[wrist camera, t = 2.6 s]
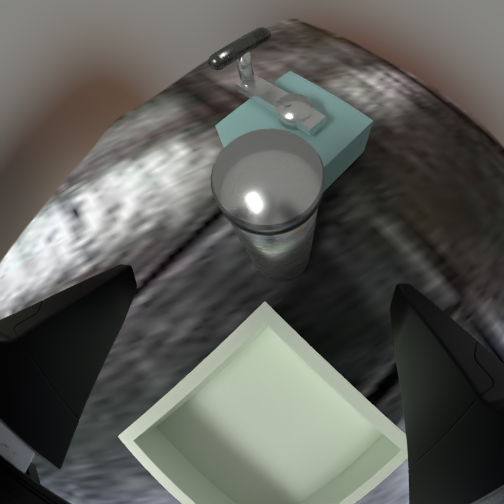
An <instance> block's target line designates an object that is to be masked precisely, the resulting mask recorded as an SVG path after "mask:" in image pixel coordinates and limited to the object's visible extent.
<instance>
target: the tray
mask: <svg viewBox="0 0 504 504" xmlns="http://www.w3.org/2000/svg"><path fill="white" fill-rule="evenodd" d="M118 437H119V438H120V440H121V441H122V442H123V443H124V444H125V446H126V447H127V448H128V449H129V450H130V451H131V453H132V454H133V455H134V456H135V457H136V458H137V459H138V460H139V462H140V463H141V464H142V465H143V466H144V467H145V468H146V469H147V470H148V471H149V472H150V473H151V474H152V475H153V476H154V477H155V478H156V480H157V481H158V482H159V483H160V484H162V485H163V486H164V487H165V488H166V489H167V490H168V491H169V492H170V493H171V494H172V495H173V496H174V497H175V498H176V499H177V500H178V501H180V502H181V503H182V504H355V503H356V502H357V501H359V500H360V499H361V498H362V497H364V496H365V495H366V494H368V493H369V492H370V491H371V490H372V489H374V488H375V487H376V486H377V485H378V484H380V483H381V482H382V481H383V480H384V479H385V478H386V477H388V476H389V475H390V474H391V473H392V472H393V471H394V470H395V469H396V468H397V467H398V466H400V465H401V464H402V463H403V462H404V461H405V460H406V459H407V458H408V452H407V440H406V434H405V433H403V432H402V431H401V430H400V429H399V428H398V427H397V426H396V425H395V424H393V423H392V422H391V421H390V420H389V419H388V418H387V417H386V416H385V415H384V414H382V413H381V412H380V411H379V410H378V409H377V408H376V407H375V406H374V405H373V404H372V403H371V402H369V401H368V400H367V399H366V398H365V397H364V396H363V395H362V394H361V393H360V392H359V391H358V390H357V389H355V388H354V387H353V386H352V385H351V384H350V383H349V382H348V381H347V380H346V379H345V378H344V377H343V376H342V375H341V374H339V373H338V372H337V371H336V370H335V369H334V368H333V367H332V366H331V365H330V364H329V363H328V362H327V361H326V360H325V359H324V358H323V357H322V356H320V355H319V354H318V353H317V352H316V351H315V350H314V349H313V348H312V347H311V346H310V345H309V344H308V343H307V342H306V341H305V340H304V339H303V338H302V337H301V336H300V335H299V334H298V333H297V332H296V331H295V330H294V329H292V328H291V327H290V326H289V325H288V324H287V323H286V322H285V321H284V320H283V319H282V318H281V317H280V316H279V315H278V314H277V313H276V312H275V311H274V310H273V309H272V308H271V307H270V306H269V305H268V304H267V303H266V302H265V301H264V302H263V303H262V304H261V305H260V306H259V307H258V308H257V309H256V310H255V311H254V312H253V313H252V314H251V315H250V316H249V317H248V318H247V319H246V320H245V321H244V322H243V323H242V324H241V325H240V326H239V327H238V328H237V329H236V330H235V331H234V332H233V333H232V334H231V335H230V336H229V337H228V338H226V339H225V340H224V341H223V342H222V343H221V344H220V345H219V346H218V347H217V348H216V349H215V350H214V351H213V352H212V353H211V354H210V355H209V356H207V357H206V358H205V359H204V360H203V361H202V362H201V363H200V364H199V365H198V366H197V367H196V368H195V369H193V370H192V371H191V372H190V373H189V374H188V375H187V376H186V377H185V378H184V379H183V380H181V381H180V382H179V383H178V384H177V385H176V386H175V387H174V388H173V389H172V390H170V391H169V392H168V393H167V394H166V395H165V396H164V397H163V398H162V399H160V400H159V401H158V402H157V403H156V404H155V405H154V406H152V407H151V408H150V409H149V410H148V411H147V412H146V413H144V414H143V415H142V416H141V417H140V418H139V419H138V420H136V421H135V422H134V423H133V424H132V425H131V426H129V427H128V428H127V429H126V430H125V431H124V432H122V433H121V434H120V435H119V436H118Z"/></svg>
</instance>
